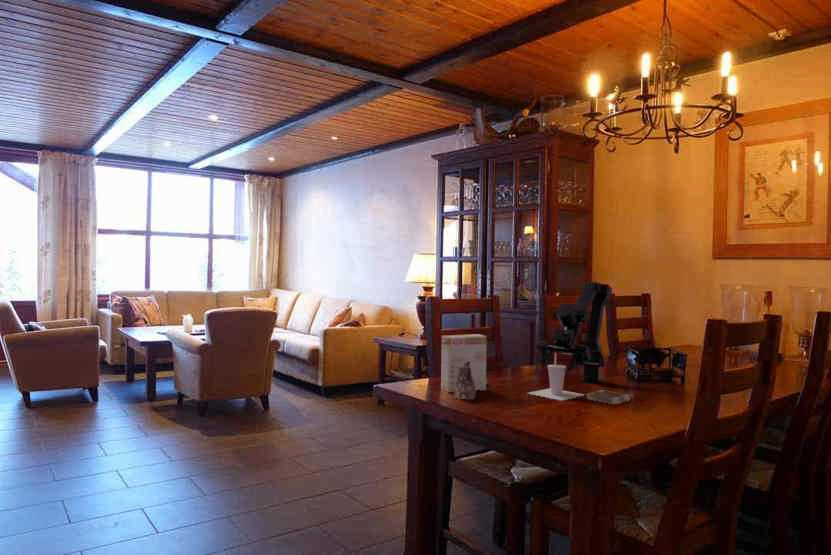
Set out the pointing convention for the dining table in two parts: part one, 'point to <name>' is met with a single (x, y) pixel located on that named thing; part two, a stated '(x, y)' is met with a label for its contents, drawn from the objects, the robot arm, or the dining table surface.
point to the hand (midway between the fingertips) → (555, 369)
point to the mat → (562, 397)
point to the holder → (608, 397)
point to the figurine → (464, 382)
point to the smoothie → (556, 378)
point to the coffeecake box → (463, 359)
